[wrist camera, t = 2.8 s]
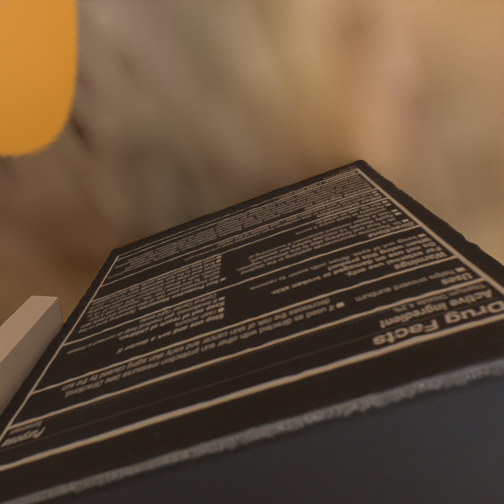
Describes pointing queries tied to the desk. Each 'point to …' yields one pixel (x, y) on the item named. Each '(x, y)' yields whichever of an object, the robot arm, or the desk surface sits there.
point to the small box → (275, 362)
